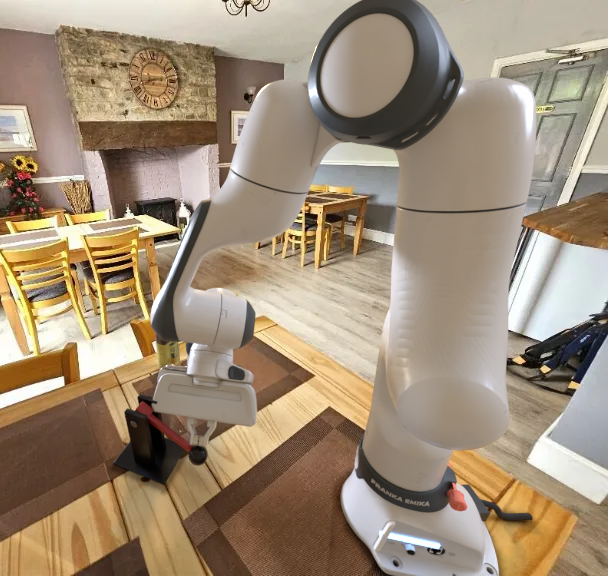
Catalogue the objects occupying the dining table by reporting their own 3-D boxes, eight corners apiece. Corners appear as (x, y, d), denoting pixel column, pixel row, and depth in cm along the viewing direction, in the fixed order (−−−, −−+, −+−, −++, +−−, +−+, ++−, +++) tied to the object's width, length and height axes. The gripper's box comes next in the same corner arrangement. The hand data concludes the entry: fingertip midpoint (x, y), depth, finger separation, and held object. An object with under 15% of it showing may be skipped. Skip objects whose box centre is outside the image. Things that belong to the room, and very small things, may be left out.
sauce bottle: (176, 378, 87) (169, 316, 78) (156, 375, 88) (146, 314, 80) (184, 363, 93) (178, 304, 84) (164, 361, 94) (156, 303, 85)
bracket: (187, 449, 66) (181, 397, 60) (164, 489, 59) (155, 433, 53) (140, 433, 70) (130, 382, 64) (114, 468, 63) (99, 414, 57)
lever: (206, 456, 60) (213, 448, 58) (197, 473, 57) (205, 465, 55) (140, 406, 62) (145, 396, 60) (128, 419, 59) (134, 410, 57)
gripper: (154, 361, 61) (139, 438, 56) (259, 373, 57) (251, 458, 52) (165, 365, 67) (152, 435, 62) (261, 376, 62) (254, 452, 58)
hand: (198, 446), depth 57 cm, fingers closed, pressing on lever
